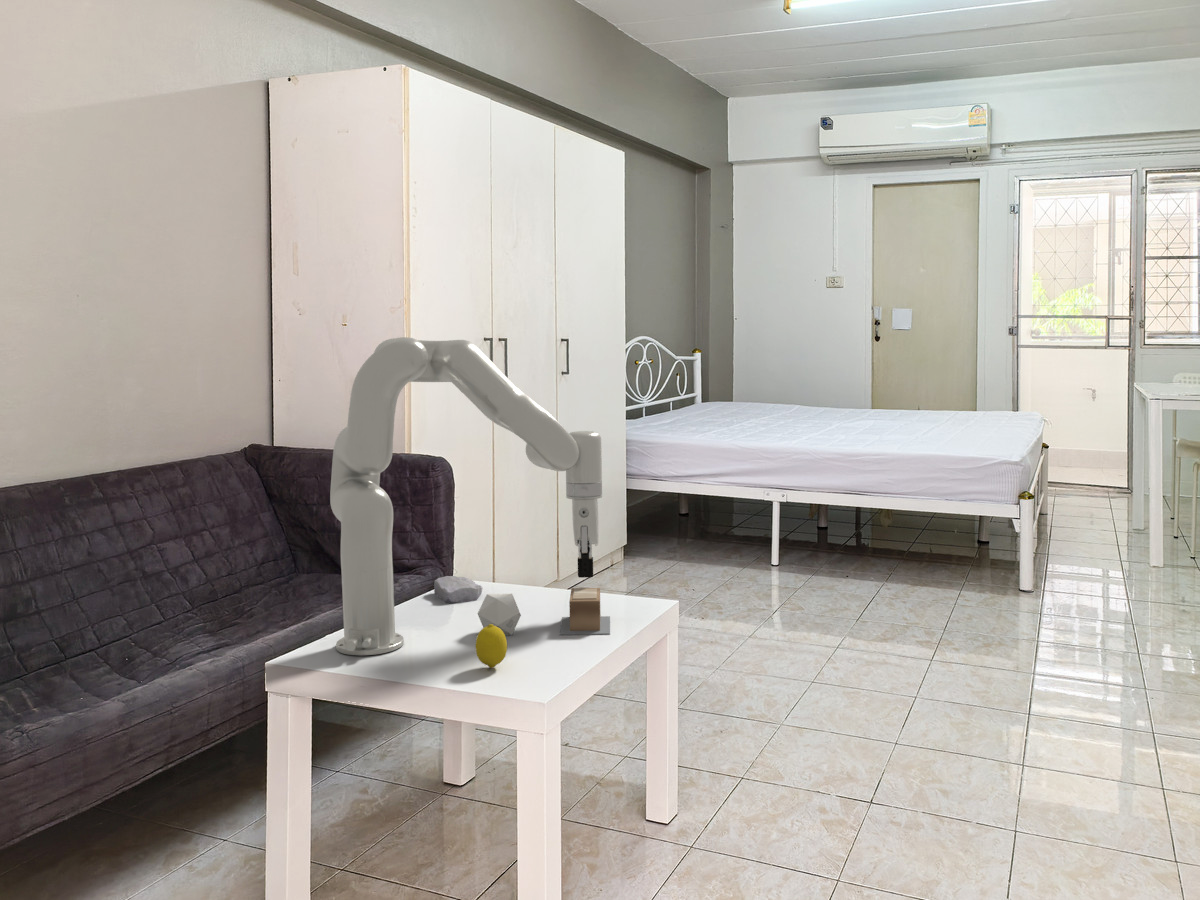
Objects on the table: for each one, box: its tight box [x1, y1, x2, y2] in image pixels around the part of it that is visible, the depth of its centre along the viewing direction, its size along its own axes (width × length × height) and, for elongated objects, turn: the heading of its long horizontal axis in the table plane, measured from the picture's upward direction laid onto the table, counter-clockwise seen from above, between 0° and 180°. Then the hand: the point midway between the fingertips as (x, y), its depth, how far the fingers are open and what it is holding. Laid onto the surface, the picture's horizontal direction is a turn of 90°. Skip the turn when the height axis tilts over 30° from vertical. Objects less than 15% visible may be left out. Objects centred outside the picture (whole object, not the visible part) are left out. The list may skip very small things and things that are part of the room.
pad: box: [559, 615, 611, 636], centre depth 198 cm, size 13×10×1 cm
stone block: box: [433, 575, 484, 604], centre depth 225 cm, size 12×5×10 cm
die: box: [477, 593, 522, 636], centre depth 194 cm, size 8×9×10 cm
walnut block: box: [568, 587, 601, 631], centre depth 199 cm, size 6×6×11 cm
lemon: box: [475, 624, 508, 669], centre depth 172 cm, size 6×6×8 cm
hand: (585, 576), depth 205 cm, fingers closed
